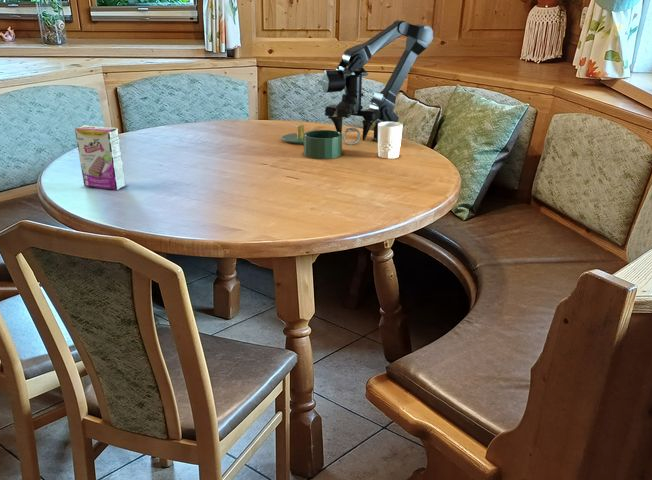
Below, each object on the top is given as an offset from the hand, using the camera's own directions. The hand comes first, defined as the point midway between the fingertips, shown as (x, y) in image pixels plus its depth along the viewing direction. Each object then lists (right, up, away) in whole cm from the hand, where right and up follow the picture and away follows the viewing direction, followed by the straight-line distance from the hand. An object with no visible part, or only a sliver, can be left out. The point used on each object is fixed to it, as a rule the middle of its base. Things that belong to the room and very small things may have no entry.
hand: (351, 138), depth 249 cm
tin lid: (-18, +2, +5) cm, 18 cm away
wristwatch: (0, -2, +1) cm, 2 cm away
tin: (-10, -9, -11) cm, 17 cm away
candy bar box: (-74, -28, -40) cm, 89 cm away
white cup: (+11, -10, -13) cm, 20 cm away
